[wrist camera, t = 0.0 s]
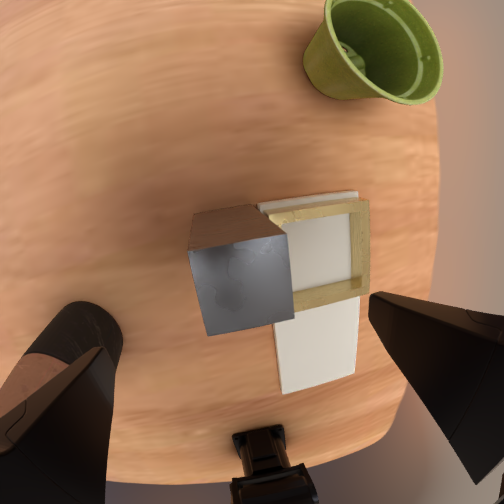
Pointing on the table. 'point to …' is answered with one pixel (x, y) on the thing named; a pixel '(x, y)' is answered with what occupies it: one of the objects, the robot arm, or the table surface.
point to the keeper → (359, 248)
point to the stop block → (240, 269)
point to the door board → (324, 317)
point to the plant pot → (374, 52)
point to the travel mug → (61, 350)
